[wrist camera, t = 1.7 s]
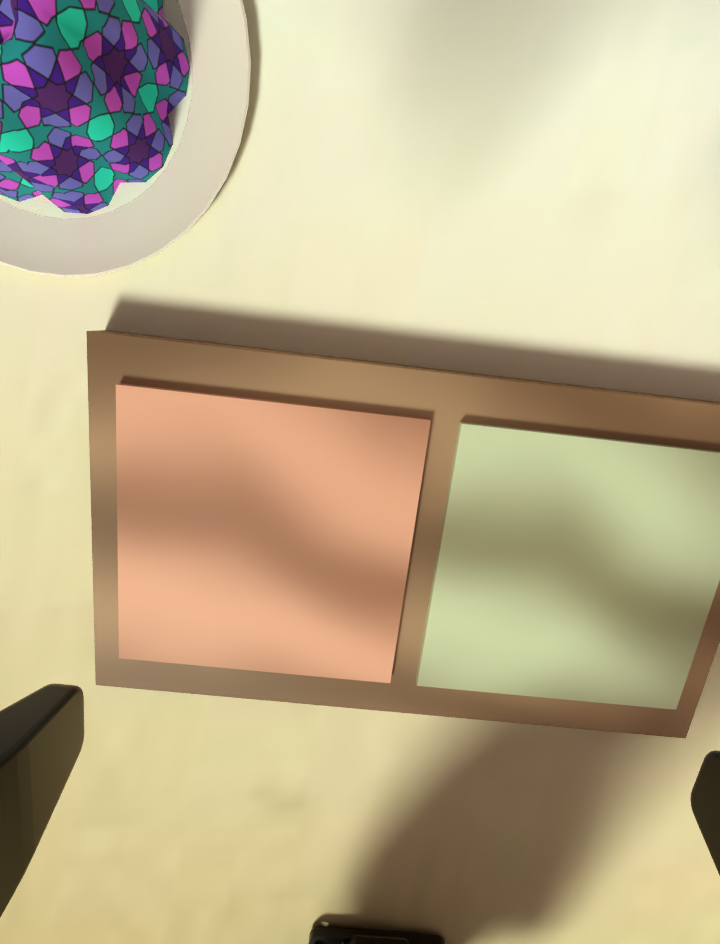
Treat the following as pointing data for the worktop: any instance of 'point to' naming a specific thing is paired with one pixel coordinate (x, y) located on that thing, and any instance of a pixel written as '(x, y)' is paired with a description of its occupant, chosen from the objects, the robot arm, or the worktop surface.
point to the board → (400, 537)
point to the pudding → (113, 125)
